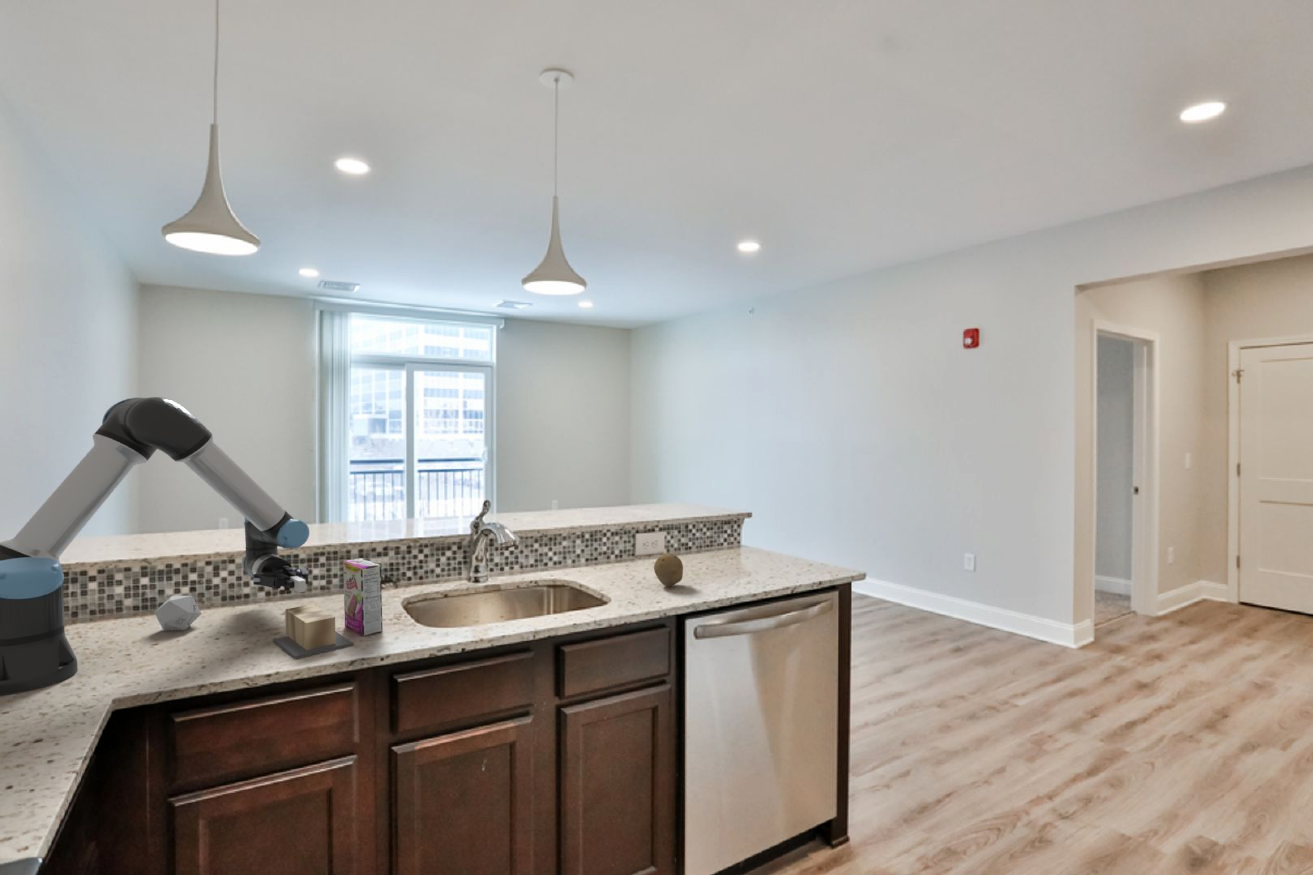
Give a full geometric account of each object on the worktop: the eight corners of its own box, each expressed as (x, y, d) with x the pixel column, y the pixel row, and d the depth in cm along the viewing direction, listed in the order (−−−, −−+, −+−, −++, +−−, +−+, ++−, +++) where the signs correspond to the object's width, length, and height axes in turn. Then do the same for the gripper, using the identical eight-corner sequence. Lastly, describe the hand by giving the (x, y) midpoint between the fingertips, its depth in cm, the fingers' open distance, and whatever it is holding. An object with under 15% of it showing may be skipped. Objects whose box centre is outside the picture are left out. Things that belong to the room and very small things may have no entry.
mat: (295, 659, 140) (295, 656, 140) (273, 641, 151) (273, 638, 151) (353, 645, 148) (353, 642, 148) (328, 629, 159) (328, 626, 159)
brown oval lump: (657, 581, 203) (657, 549, 203) (686, 582, 202) (685, 550, 201) (651, 589, 194) (651, 555, 194) (681, 590, 193) (680, 556, 192)
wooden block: (285, 634, 154) (306, 650, 143) (285, 609, 154) (306, 622, 143) (313, 628, 158) (335, 643, 147) (312, 603, 158) (335, 616, 147)
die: (165, 639, 155) (194, 603, 158) (138, 619, 157) (167, 584, 159) (188, 640, 163) (215, 606, 166) (162, 622, 164) (190, 588, 167)
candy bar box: (343, 627, 161) (341, 560, 161) (363, 622, 165) (362, 557, 164) (362, 637, 154) (361, 567, 153) (383, 631, 157) (382, 563, 157)
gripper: (300, 580, 177) (331, 596, 161) (244, 589, 168) (272, 607, 151) (299, 552, 177) (331, 566, 160) (243, 560, 168) (271, 575, 151)
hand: (302, 586), depth 156 cm, fingers closed
